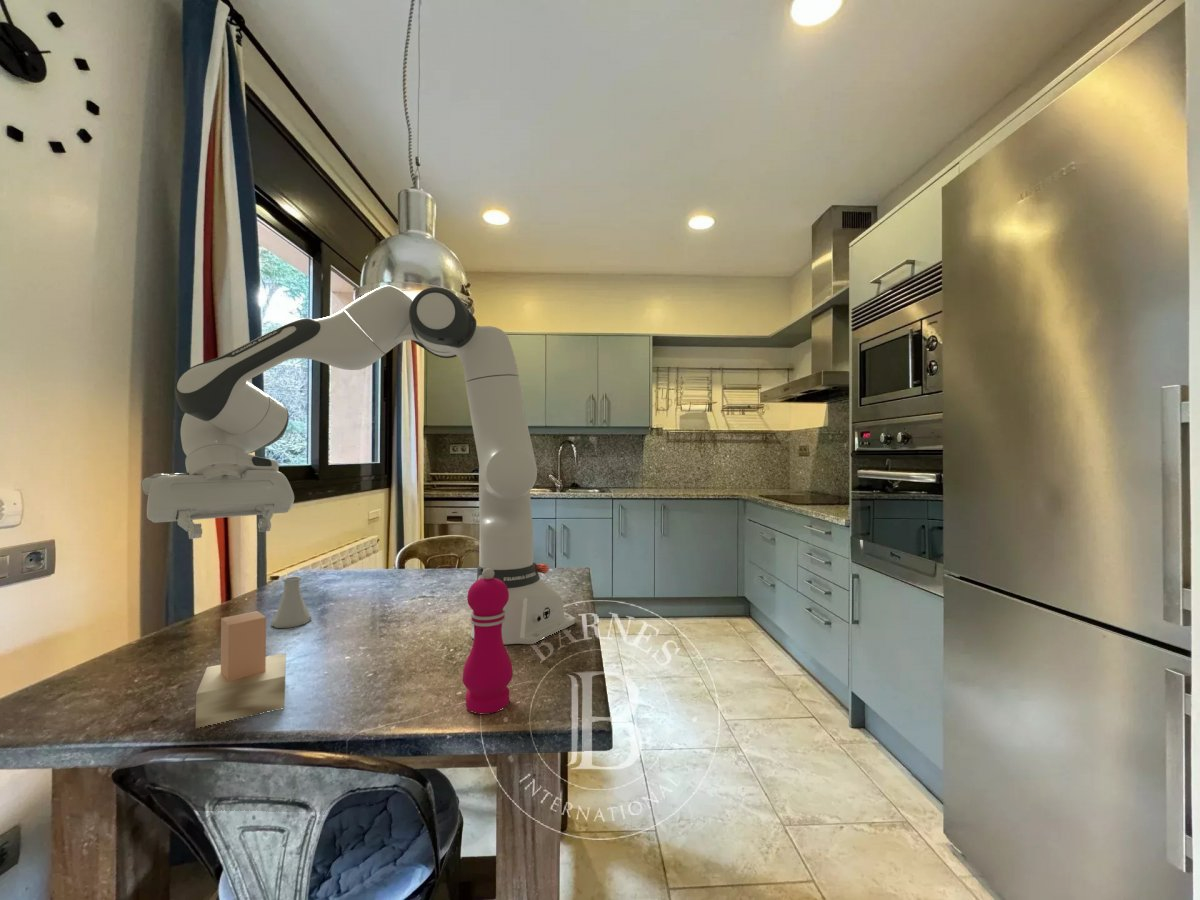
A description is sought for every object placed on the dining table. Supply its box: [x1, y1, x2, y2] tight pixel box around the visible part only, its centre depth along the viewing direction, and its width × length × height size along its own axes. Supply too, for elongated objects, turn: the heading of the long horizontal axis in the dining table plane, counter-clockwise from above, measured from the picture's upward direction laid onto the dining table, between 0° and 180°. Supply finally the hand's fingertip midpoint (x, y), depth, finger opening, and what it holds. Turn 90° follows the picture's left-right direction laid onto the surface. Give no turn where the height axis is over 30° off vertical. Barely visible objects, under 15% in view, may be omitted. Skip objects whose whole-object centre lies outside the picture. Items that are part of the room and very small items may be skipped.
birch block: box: [195, 652, 287, 730], centre depth 72 cm, size 10×10×5 cm
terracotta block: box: [220, 610, 267, 682], centre depth 72 cm, size 4×4×8 cm
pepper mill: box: [461, 568, 514, 714], centre depth 72 cm, size 7×7×20 cm
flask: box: [270, 576, 312, 629], centre depth 108 cm, size 7×7×10 cm
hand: (232, 532), depth 81 cm, fingers open, 8 cm apart
